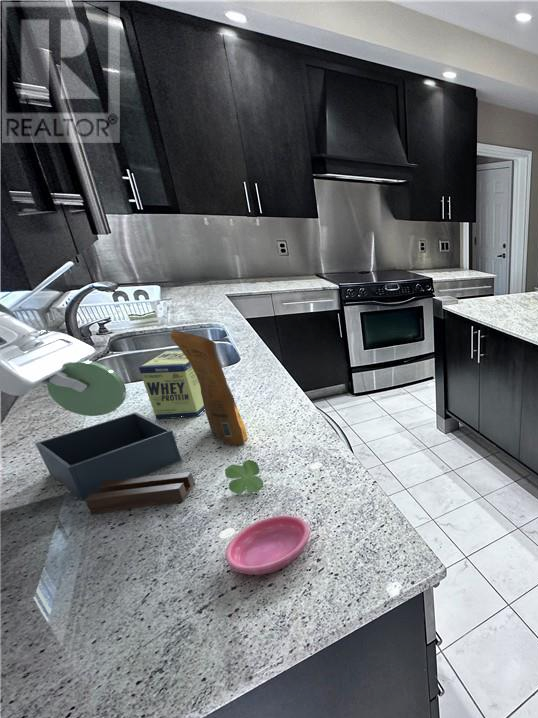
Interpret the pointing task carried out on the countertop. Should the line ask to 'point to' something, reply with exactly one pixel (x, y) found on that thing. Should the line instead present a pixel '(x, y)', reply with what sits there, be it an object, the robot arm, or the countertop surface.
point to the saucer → (267, 545)
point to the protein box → (172, 385)
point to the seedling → (244, 477)
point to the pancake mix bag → (213, 387)
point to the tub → (108, 453)
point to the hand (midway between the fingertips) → (90, 386)
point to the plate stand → (141, 492)
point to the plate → (90, 389)
